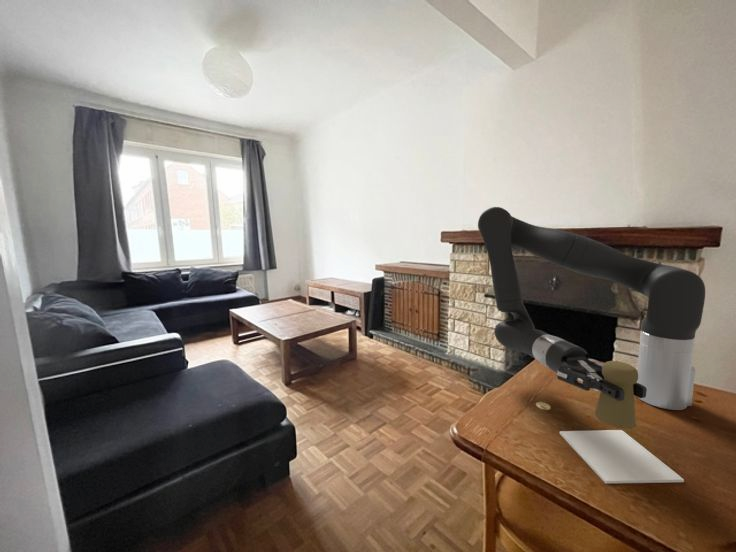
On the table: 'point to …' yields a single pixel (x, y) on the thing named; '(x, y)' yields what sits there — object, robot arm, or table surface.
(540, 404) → the brass coin
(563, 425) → the table surface
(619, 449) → the white mat
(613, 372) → the cork
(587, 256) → the robot arm
